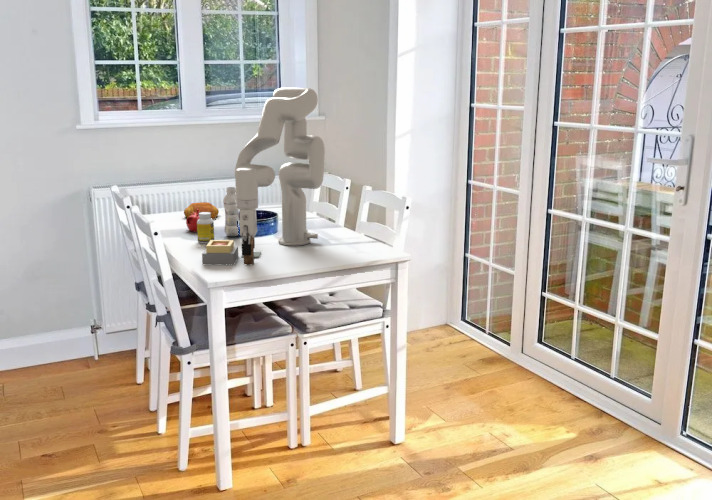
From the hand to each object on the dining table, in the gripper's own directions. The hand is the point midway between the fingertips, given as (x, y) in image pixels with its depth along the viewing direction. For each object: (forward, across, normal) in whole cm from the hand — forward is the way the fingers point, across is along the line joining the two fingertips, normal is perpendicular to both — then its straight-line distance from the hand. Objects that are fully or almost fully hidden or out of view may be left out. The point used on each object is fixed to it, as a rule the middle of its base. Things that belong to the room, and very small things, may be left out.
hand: (248, 251), depth 250 cm
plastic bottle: (+4, +41, +12) cm, 43 cm away
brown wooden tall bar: (+4, 0, 0) cm, 4 cm away
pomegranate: (+4, +51, +28) cm, 58 cm away
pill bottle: (+4, +31, +21) cm, 38 cm away
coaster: (+4, +11, 0) cm, 11 cm away
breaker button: (+2, +4, +10) cm, 11 cm away
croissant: (+5, +77, +32) cm, 84 cm away
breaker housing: (+4, +4, +10) cm, 12 cm away
